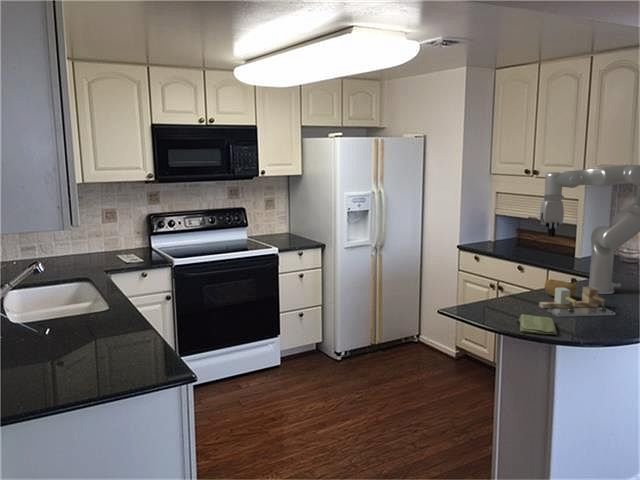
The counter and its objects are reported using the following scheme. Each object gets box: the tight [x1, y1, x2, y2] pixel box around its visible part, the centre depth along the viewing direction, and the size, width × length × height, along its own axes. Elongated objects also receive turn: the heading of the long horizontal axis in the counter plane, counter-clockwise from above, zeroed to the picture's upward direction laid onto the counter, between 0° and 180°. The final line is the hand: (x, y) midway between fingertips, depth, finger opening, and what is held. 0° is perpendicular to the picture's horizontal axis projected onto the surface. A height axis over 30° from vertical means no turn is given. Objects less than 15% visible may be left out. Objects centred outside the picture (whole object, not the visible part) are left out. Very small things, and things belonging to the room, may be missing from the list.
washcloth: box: [518, 314, 558, 336], centre depth 203 cm, size 13×18×3 cm
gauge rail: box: [538, 286, 606, 309], centre depth 226 cm, size 25×12×8 cm, turn 95°
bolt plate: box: [546, 306, 617, 318], centre depth 221 cm, size 25×8×2 cm, turn 95°
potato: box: [544, 279, 578, 298], centre depth 245 cm, size 10×14×8 cm
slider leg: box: [553, 287, 577, 307], centre depth 225 cm, size 4×12×6 cm, turn 5°
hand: (551, 236), depth 255 cm, fingers closed
